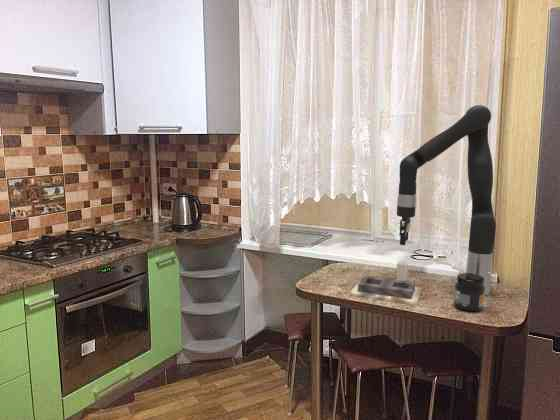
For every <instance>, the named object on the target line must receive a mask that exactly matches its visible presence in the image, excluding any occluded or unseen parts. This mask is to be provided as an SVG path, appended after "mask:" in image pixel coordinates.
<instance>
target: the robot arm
mask: <svg viewBox="0 0 560 420" xmlns="http://www.w3.org/2000/svg"><path fill="white" fill-rule="evenodd" d="M491 121H492V112H491V110H490V109H489V108H488V107H487V106H485V105H481V104H477V105H472V106H471V107H470V108H469V109H467V111H465V113H464V115H463V116H462V117H461V118H460V119H458V121H456V122H455V123H453V125H451V126H450V127H448V128H446V129H445V130H444V131H442V132H440V133H438V134H437V135H435V136H434V137H432V138H431V139H429V140H428V141H427V142H425V143H423V144H422V145H420V147H419V148H418V149H417V150H414V151H413V152H411V153H409V154H408V155H407V156H406V157H403V159H401V161H400V163H399V184H398V194H397V201H396V216H397V217H401V219H400V220H399V234H398V235H399V236H400V237H399V245H400V246H405V245H407V244H406V242H407V241H408V240H409V232H410V229H411V223H412V222H411V221H412V220H411V218H414V217H415V216H416V208H417V207H416V206H417V174H418V170H419V169H420V168H421V167H422V166H424V165H426V164H427V163H428V162H431V161H432V160H434V159H436V158H437V157H439V156H440V155H442V154H443V153H444V152H445V151H447V150H448V149H450V147H452V146H453V145H455V144H456V143H457V142H458V141H460V140H462V139H464V138H465V137H467V141H468V142H467V143H468V146H467V179H468V180H467V181H468V186H469V192H470V197H471V217H470V227H469V228H470V229H469V237H468V238H469V239H468V240H469V241H468V246H467V247H468V250H467V261H466V269H465V270H466V272H465V273H472V274H477V275H480V276H482V277H484V279H485V281H484V284H483V285H484V286H485V292H484V296H488V297H489V296H490V288H491V279H492V266H493V265H492V263H493V253H494V248H495V238H496V231H497V222H496V218H495V216H494V210H493V203H492V202H493V201H492V194H493V187H494V169H493V168H494V166H493V158H492V153H491V148H490V144H489V124H490V122H491Z"/></svg>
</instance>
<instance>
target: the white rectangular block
mask: <svg viewBox="0 0 560 420" xmlns="http://www.w3.org/2000/svg"><path fill="white" fill-rule="evenodd" d="M408 267H409V262H405V261H397V263H396V276H395V277H396V278H395V280H401V281H408Z"/></svg>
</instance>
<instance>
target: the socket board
mask: <svg viewBox="0 0 560 420" xmlns="http://www.w3.org/2000/svg"><path fill="white" fill-rule="evenodd" d="M357 281H358V282H356V283H355V285H354V286H353V288H352V289H351V291H350V292H349V296H352V297H359V298H364V299H372V300H378V301H385V302H390V303H391V302H392V303H400V304H405V305H413V306H418V304H419V300H420V297H421V295H422V290H423V288H422V287H419V286H416V281H415V282H414V281H408V280H407V281H401V280H396V279H393V278H386V277H378V276H369V275H364V276H363V277H362V278H361V279H358V280H357Z"/></svg>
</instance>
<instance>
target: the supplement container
mask: <svg viewBox="0 0 560 420" xmlns="http://www.w3.org/2000/svg"><path fill="white" fill-rule="evenodd" d="M484 281H485V279H484V277H482V276H480V275H477V274H472V273H466V272H462V273H458V274H457V276H456V282H455V283H454V295H453V297H454V298H453V305H454V307H456V308H457V309H458V308H459V310H461V311H464V310H466V311H465V312H469V311H477V312H480V311H482V310H483V308H484V300H485V295H484V292H485V286H484V285H483V284H484Z"/></svg>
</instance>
